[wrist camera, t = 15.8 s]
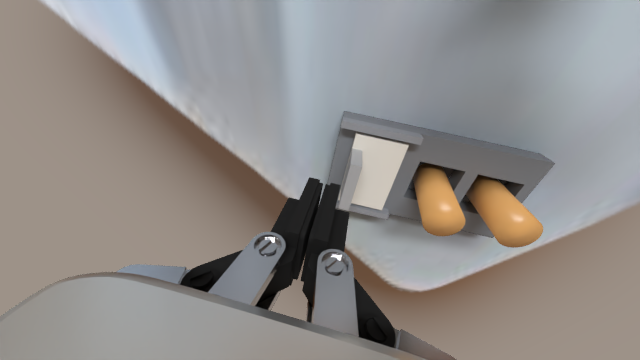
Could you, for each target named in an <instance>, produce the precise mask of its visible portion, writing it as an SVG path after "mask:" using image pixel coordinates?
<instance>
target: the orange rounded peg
mask: <svg viewBox="0 0 640 360" xmlns="http://www.w3.org/2000/svg"><path fill="white" fill-rule="evenodd" d="M466 195H467V197H468V198H469V200H470V201H471V203H472V204H473V206H474V207H475V209H476V210H477V212H478V213H479V214H480V216H481V217H482V219H483V220H484V222H485V223H486V225H487V226H488V228H489V229H490V231H491V232H492V234H493V235H494V236H495V238H496V239H497V241H498V242H499V243H500V244H502V245H504V246H507V247H522V246H526V245H529V244H531V243H533V242H534V241H536V240H537V239H538V238H539V237H540V236H541V234H542V232H543V226H542V224H541V223H540V222H539V221H538V220H537V219H536V218H535V217H534V216H533V215H532V214H531V213H530V212H529V211H528V210H527V209H526V208H525V207H524V206H523V205H522V204H521V203H520V202H519V201H518V200H517V199H516V198H515V197H514V196H513V195H512V194H511V193H510V192H509V191H508V190H507V189H506V188H505V186H504V185H503V184H502V183H501V182H500V181H499V180H498V179H497V178H492V177H488V176H483V175H479V174H478V176H477V177H476V179H475V180H474V182H473V183H472V185H471V186H470V188H469V189H468V191H467V193H466Z"/></svg>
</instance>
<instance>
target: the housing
mask: <svg viewBox="0 0 640 360" xmlns="http://www.w3.org/2000/svg"><path fill="white" fill-rule="evenodd" d="M356 131H358V132H363V133H367V134H372V135H376V136H381V137H385V138H390V139H394V140H399V141H403V142H407V143H408V145H409V146H408V149H407V151H406V154H405V156H404V158H403V161H402V163H401V166H400V168H399V170H398V173H397V175H396V178H395V180H394V182H393V185H392V187H391V189H390V192H389V194H388V197H387V199H386V201H385V204H384V206H383V209H382V210H378V209H374V208H370V207H365V206H361V205H357V204H353V203H351V205H350V208H349V211H352V212H356V213H361V214H365V215H369V216H373V217H378V218H382V219H386V220H387V219H388V217H389V214H392V215H396V216H401V217H405V218H409V219H414V220H418V221H422V219H421V214H420V210H419V205H418V201H417V196H416V192H415V190H412V189H408V186H409V184H410V182H411V180H412V178H413V176H414V173H415V171H416V169H417V167H418V165H419V163H420V161H421V162H425V163H430V164H434V165H439V166H443V167H448V168H452V169H454V171H453V172H452V174H451V176H450V178H449V179H448V180H449V183H450V185H451V187H452V189H453V192H454V194H455V196H456V199H457V201H458V203H459V205H460V208H461V210H462V212H463V214H464V217H465V225H464V227H463V228H462V229H461V231H465V232H469V233H473V234H478V235H482V236H486V237H491V238H493V237H494V235H493V234H492V232H491V231H490V229H489V228H488V226H487V225H486V223H485V222H484V220H483V219H482V217H481V216H480V214H479V213H478V212H477V210H476V209H475V207H474V206H473V204H472V203H469V202H465V201H461V200H462V199H463V197H464V196H465V194H466V193H467V191H468V189H469V188H470V186H471V185H472V183H473V182H474V180H475V179H476V177H477V176H478V174H479V175H483V176H488V177H492V178H497V179H501V180H506V181H508V182H507V183H506V184H505V188H506V189H507V190H508V191H509V192H510V193H511V194H512V195H513V196H514V197H515V198H516V199H517V200H518V201H519V202H520V203H521V204H522V202H523V201H524V200H525V199H526V198H527V197H528V195H529V194H530V193H531V192H532V191H533V189H534V188H535V187H536V186H537V185H538V183H539V182H540V181H541V180H542V179H543V177H544V176H545V175H546V174H547V173H548V171H549V170H550V169H551V168H552V167H553V165H554V164H555V163H554V162H552V161H551V160H549V159H548V158H546V157H545V156H543V155H542V154H539V153H535V152H530V151H525V150H521V149H516V148H512V147H507V146H503V145H498V144H493V143H489V142H484V141H480V140H475V139H470V138H466V137H461V136H457V135H452V134H448V133H443V132H438V131H434V130H429V129H425V128H420V127H416V126H411V125H406V124H402V123H397V122H393V121H388V120H383V119H379V118H374V117H370V116H365V115H361V114H356V113H351V112H347V111H344V114H343V119H342V123H341V127H340V132H339V136H338V140H337V145H336V149H335V153H334V158H333V162H332V167H331V171H330V175H329V180H328V184H327V185H330V183H335V184H339V185H341V186H342V182H343V178H344V175H345V171H346V167H347V163H348V160H349V156H350V152H351V149H352V145H353V141H354V138H355V134H356ZM341 186H340V189H341ZM339 193H340V190H339ZM338 197H339V194H338ZM336 208H339V200H338V199H337V203H336Z"/></svg>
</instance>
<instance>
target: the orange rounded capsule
mask: <svg viewBox="0 0 640 360" xmlns="http://www.w3.org/2000/svg"><path fill="white" fill-rule="evenodd" d="M413 182H414V187H415V192H416V196H417V201H418V205H419V210H420V214H421V219H422V224H423V227H424V229H425V230H426V231H427V232H428V233H430V234H433V235H436V236H449V235H453V234H455V233H457V232H459V231H460V230H461V229H462V228H463V227H464V225H465V217H464V214H463V212H462V210H461V208H460V205H459V203H458V201H457V199H456V196H455V194H454V192H453V189H452V187H451V185H450V183H449V180H448V178H447V176H446V174H445V171H444V169H443V168H442V167H441V166H439V165H434V164H430V163H424V164H422V165H420V166H418V167H417V169H416V171H415V173H414V176H413Z"/></svg>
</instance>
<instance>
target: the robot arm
mask: <svg viewBox="0 0 640 360" xmlns="http://www.w3.org/2000/svg"><path fill="white" fill-rule="evenodd" d="M319 182H320V180H318V179H314V178H309V180H308V182H307V184H306V186H305V188H304V191H303V193H302V195H301V197H300V199H299V200H297V199H293V198H288V200H287V202H286V204H285V206H284V208H283V209H282V211H281V213H280V215H279V217H278V219H277V221H276V223H275V225H274V227H273V228H272V230H271V232H264V233H261V234H258V235H256V236H255V237H254V238H253V239H252V240H251V241H250V243H249V244H248V245H247V246H246V247H245V249H244V250H241V251H239V252H236V253H233V254H230V255H227V256H225V257H222V258H219V259H216V260H214V261H211V262H208V263H205V264H203V265H200V266H197V267H195V268H193V269H191V270H187V269H186V267H177V266H159V265H158V266H157V265H140V264H137V265H129V266H127V267H124V268H122V269H120V270H118V271H117V272H101V273H90V274H82V275H77V276H73V277H68V278H65V279H62V280H59V281H57V282H55V283H53V284H50V285H48V286H46V287H45V288H43V289H41V290H39V291H38V292H36V293H35V294H33V295H31V296H30V297H28V298H27V299H25V300H24V301H22V302H21V303H19V304H18V305H16V306H15V307H13V308H12V309H10V310H9V311H7V312H6V313H5V314H3V315H2V316H0V360H456V359H455V358H454V357H452V356H451V355H449V354H447V353H445V352H443V351H441V350H439V349H437V348H436V347H434V346H432V345H430V344H428V343H426V342H425V341H422V340H421V339H419V338H417V337H415V336H413V335H412V334H410V333H408V332H406V331H404V330H402V329H401V330H400V331H399V330H397V329H395V328H393V327H392V325H391V323H390V322H389V320H388V319H387V318H386V316H385V315H384V314H383V313H382V312H381V310H380V309H379V308H378V307H377V305H376V304H375V303H374V301H373V300H372V299H371V298H370V296H369V295H368V294H367V293H366V291H365V290H364V289H363V288H362V286H361V285H360V284H359V283H358V282H357V280H356V279H355V278H354V274H353V264H352V261H351V259H350V258H349V256H348V255H347V254H346V253H344V248H345V241H346V233H347V226H348V219H349V212H345V211H341V210H337V209H335V208H336V203H337V199H338V194H339V190H340V186H341V185H339V184H335V183H330V185H327V184H326V186H325V189H324V192H323V195H322V198H321V201H320V196H321V191H322V186H323V183H319ZM319 201H320V204H319ZM318 206H319V207H318ZM305 254H306V256H305ZM304 257H305V261H304V266H303V272H302V277H301V281H303V282H304V285H303V292H304V294H305V295H306V297H307V299H308V303H307V314H306V321H303V320H299V319H296V318H293V317H289V316H286V315H283V314H279V313H276V312H272V311H271V309H272V307H273V306H274V304H275V302H276V300H277V298H278V296H279V294H280V291H281V290H283V289H285V288H287V287H288V286H289V285H291V284H292V281H293V279H296V280H297V279H298V276H299V273H300V270H301V266H302V264H303V260H304Z"/></svg>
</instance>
